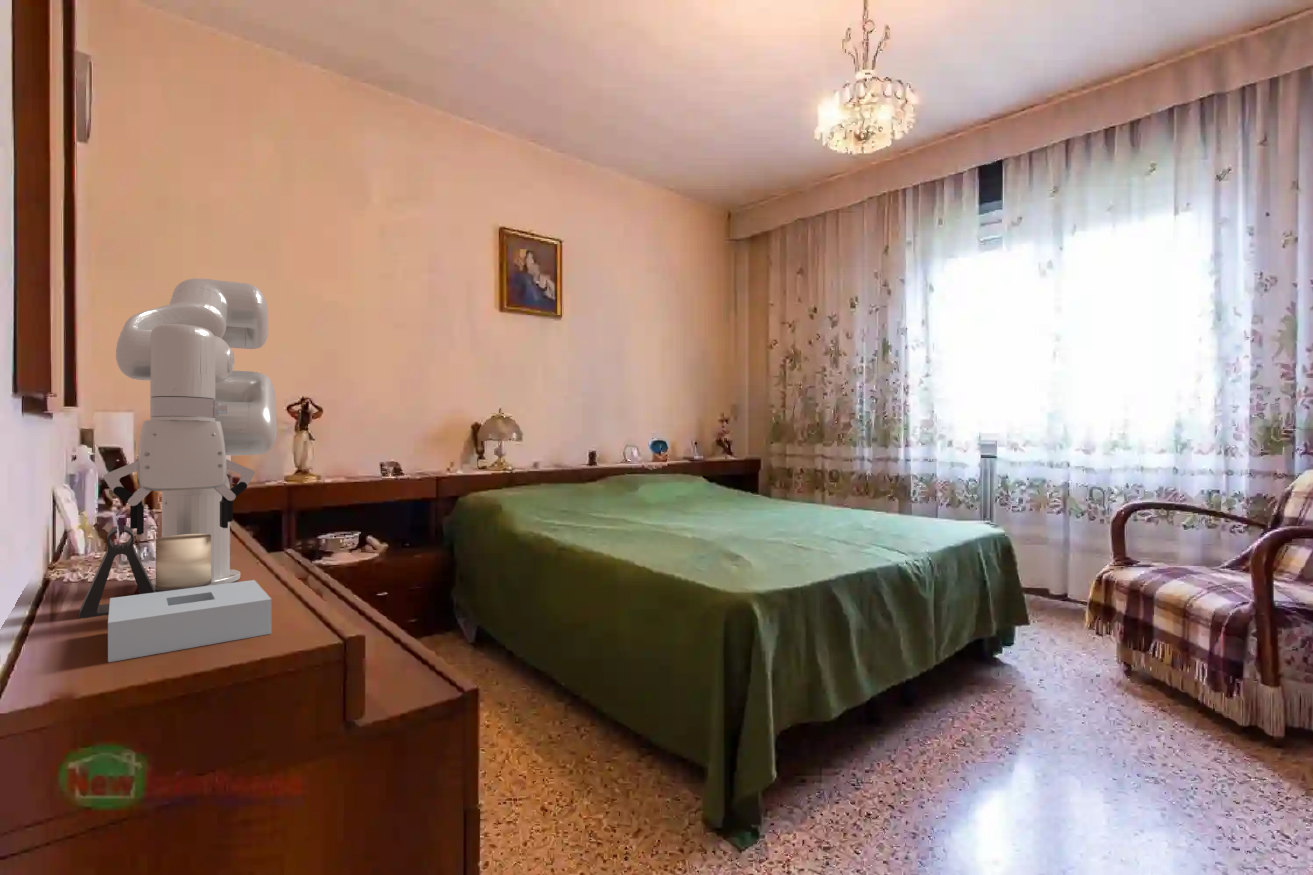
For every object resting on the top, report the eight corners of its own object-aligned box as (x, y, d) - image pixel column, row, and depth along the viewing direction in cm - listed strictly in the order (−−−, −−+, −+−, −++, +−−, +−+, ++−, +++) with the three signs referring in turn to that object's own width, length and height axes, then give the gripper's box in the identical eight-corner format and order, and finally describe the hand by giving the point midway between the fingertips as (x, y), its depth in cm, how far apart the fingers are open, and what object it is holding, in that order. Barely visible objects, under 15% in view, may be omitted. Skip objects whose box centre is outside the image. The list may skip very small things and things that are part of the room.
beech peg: (154, 612, 91) (154, 536, 91) (209, 604, 95) (209, 532, 95) (156, 622, 86) (156, 542, 86) (213, 613, 90) (213, 537, 90)
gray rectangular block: (110, 632, 82) (110, 598, 82) (254, 610, 92) (254, 579, 92) (108, 662, 71) (107, 622, 71) (271, 633, 81) (271, 599, 81)
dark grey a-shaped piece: (78, 618, 88) (78, 533, 88) (80, 609, 92) (80, 528, 92) (160, 607, 94) (160, 527, 94) (158, 599, 98) (158, 523, 98)
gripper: (250, 414, 99) (250, 523, 98) (104, 411, 88) (103, 533, 87) (258, 412, 93) (258, 527, 93) (103, 408, 82) (102, 539, 82)
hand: (183, 530), depth 90 cm, fingers open, 9 cm apart
